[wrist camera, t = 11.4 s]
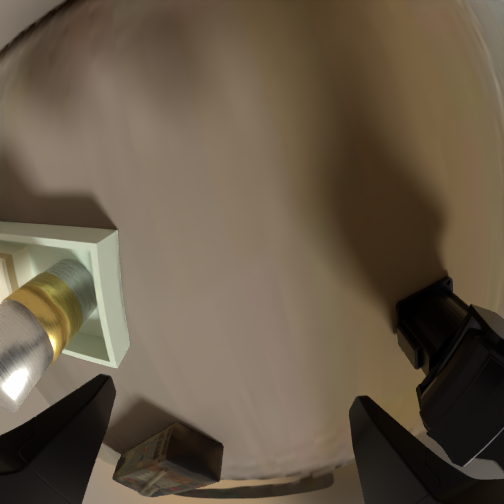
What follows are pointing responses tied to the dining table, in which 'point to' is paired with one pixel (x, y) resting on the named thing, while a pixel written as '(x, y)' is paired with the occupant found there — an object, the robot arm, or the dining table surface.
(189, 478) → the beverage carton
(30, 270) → the butter box
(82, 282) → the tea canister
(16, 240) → the tote
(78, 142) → the dining table surface
